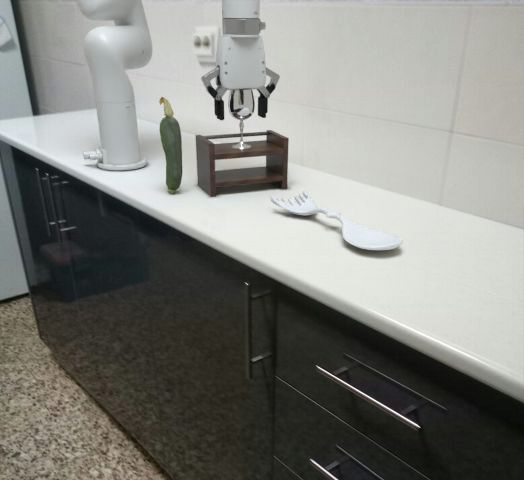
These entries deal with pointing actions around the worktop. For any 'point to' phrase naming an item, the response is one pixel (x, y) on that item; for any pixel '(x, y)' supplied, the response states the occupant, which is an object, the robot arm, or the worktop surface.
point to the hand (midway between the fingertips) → (241, 118)
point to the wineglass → (241, 110)
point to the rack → (271, 148)
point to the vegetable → (171, 147)
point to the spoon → (350, 230)
